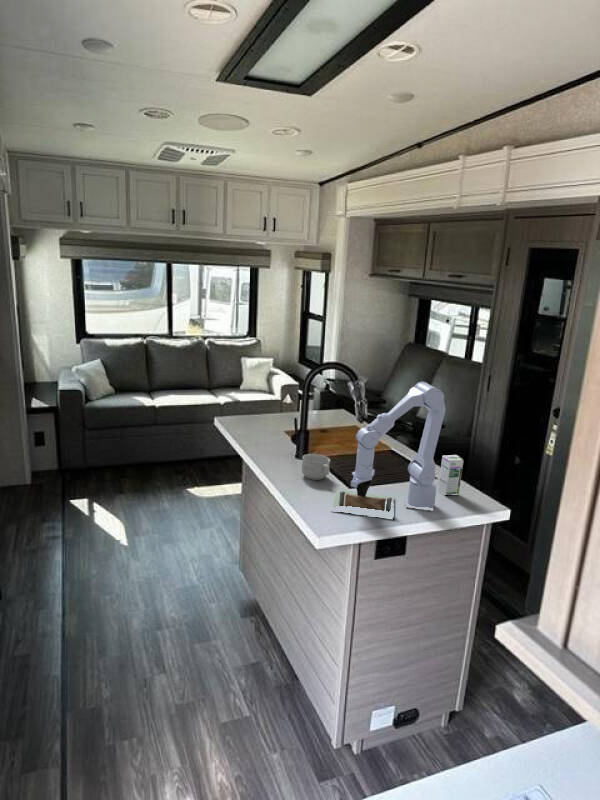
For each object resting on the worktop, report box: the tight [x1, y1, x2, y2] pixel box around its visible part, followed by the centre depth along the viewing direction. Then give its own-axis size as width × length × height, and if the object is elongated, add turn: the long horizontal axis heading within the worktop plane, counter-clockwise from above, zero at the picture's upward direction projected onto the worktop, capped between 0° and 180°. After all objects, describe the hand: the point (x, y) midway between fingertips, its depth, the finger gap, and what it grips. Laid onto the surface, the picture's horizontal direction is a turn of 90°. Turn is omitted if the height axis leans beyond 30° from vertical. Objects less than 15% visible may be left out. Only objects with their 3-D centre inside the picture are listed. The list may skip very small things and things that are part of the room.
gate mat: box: [332, 488, 396, 508], centre depth 194 cm, size 21×18×1 cm
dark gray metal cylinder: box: [339, 491, 392, 512], centre depth 189 cm, size 18×2×6 cm, turn 80°
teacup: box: [301, 453, 331, 481], centre depth 213 cm, size 14×11×8 cm
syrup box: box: [437, 454, 464, 495], centre depth 208 cm, size 6×6×14 cm
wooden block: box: [345, 493, 386, 511], centre depth 189 cm, size 14×1×4 cm, turn 81°
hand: (360, 500), depth 191 cm, fingers closed, pressing on wooden block
